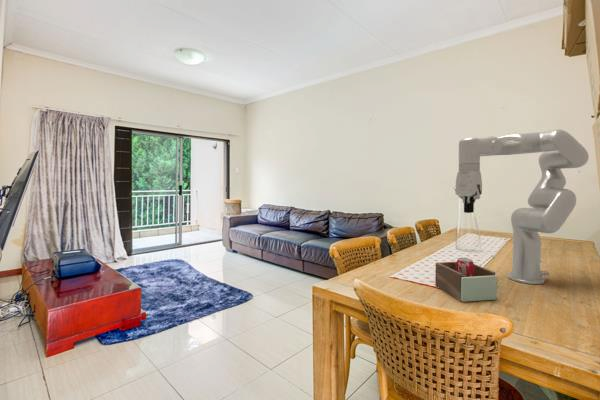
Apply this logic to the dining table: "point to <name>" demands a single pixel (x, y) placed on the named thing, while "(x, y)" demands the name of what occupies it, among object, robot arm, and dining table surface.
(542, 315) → the dining table surface
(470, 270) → the beverage can
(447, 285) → the box
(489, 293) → the pale green drawer
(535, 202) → the robot arm
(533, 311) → the dining table surface
